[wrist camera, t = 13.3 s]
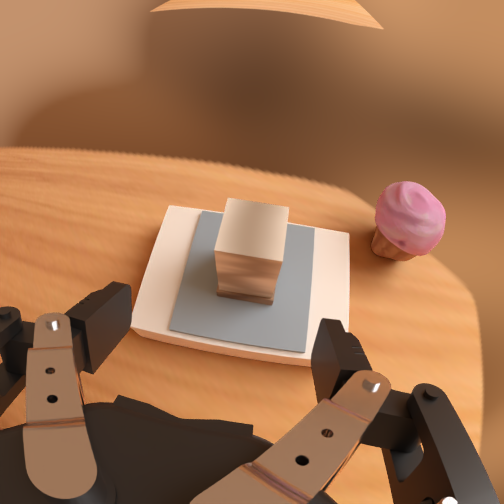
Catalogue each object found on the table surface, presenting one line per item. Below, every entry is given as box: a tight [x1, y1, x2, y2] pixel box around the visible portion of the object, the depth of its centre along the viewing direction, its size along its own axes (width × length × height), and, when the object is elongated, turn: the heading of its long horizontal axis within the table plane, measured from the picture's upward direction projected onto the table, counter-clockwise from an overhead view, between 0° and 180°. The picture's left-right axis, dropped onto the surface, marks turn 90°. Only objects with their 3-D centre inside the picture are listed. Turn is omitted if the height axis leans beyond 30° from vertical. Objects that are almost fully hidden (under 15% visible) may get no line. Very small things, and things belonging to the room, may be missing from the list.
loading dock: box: [130, 205, 350, 367], centre depth 30 cm, size 20×14×4 cm
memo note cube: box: [214, 198, 289, 305], centre depth 24 cm, size 5×5×8 cm
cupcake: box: [371, 181, 446, 261], centre depth 32 cm, size 9×9×10 cm
